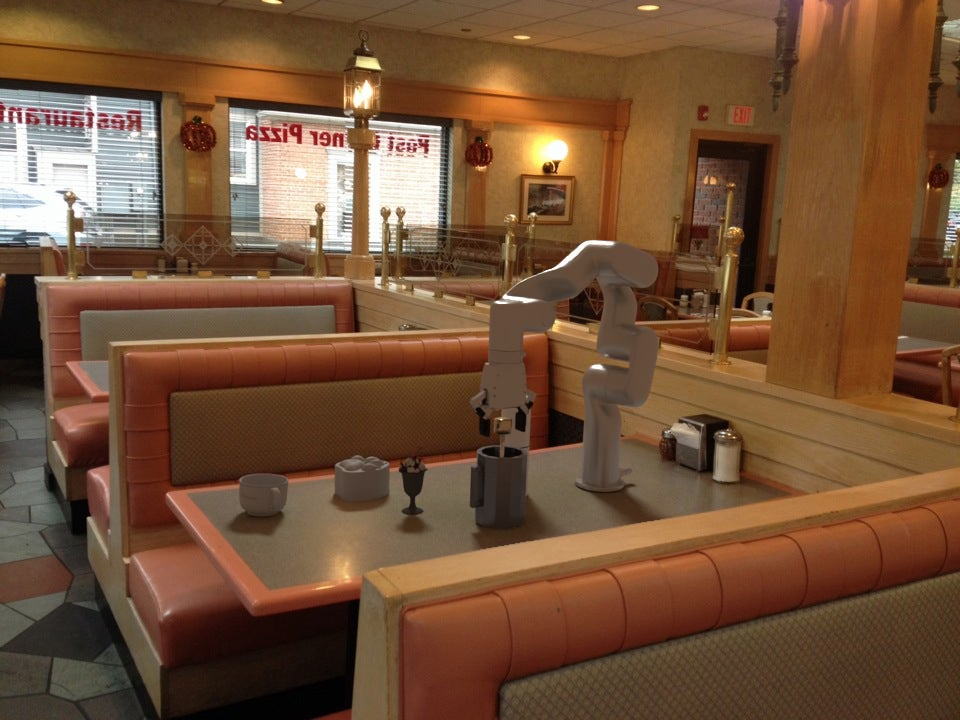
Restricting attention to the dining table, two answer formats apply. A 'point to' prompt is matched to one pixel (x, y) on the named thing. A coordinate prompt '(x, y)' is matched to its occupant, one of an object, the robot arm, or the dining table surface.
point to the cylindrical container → (518, 435)
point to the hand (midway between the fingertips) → (502, 433)
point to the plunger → (502, 430)
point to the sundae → (413, 480)
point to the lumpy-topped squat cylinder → (362, 479)
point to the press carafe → (499, 487)
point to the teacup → (263, 493)
